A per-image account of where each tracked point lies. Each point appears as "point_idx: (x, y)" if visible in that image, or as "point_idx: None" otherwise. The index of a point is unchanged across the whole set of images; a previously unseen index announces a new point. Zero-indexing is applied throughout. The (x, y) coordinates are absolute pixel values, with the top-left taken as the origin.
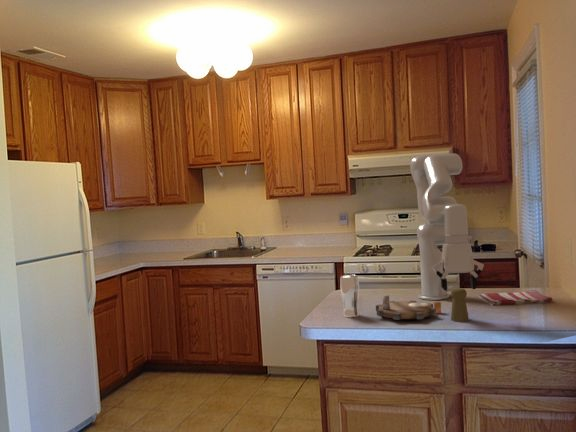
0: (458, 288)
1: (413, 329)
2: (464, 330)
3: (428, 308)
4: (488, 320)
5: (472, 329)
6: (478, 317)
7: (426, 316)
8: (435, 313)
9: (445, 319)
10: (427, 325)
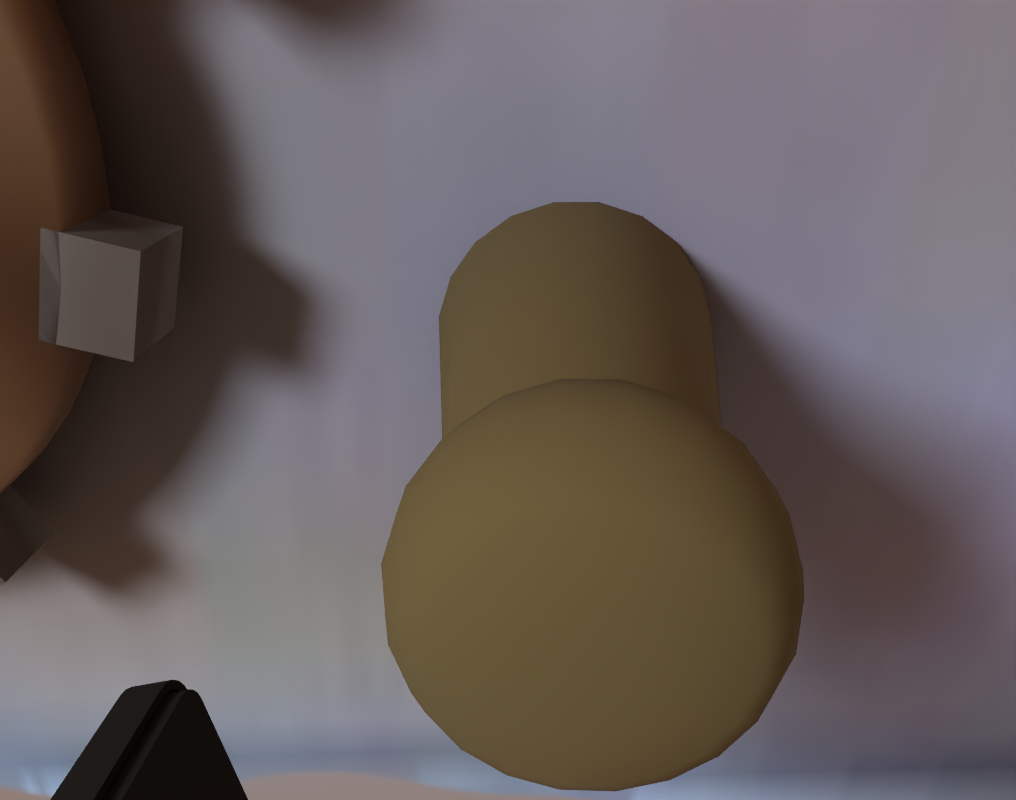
0: (592, 674)
1: (38, 771)
2: None
3: (10, 280)
4: (999, 354)
5: None
6: (895, 172)
7: (66, 415)
8: (174, 268)
9: (360, 330)
10: (157, 627)
